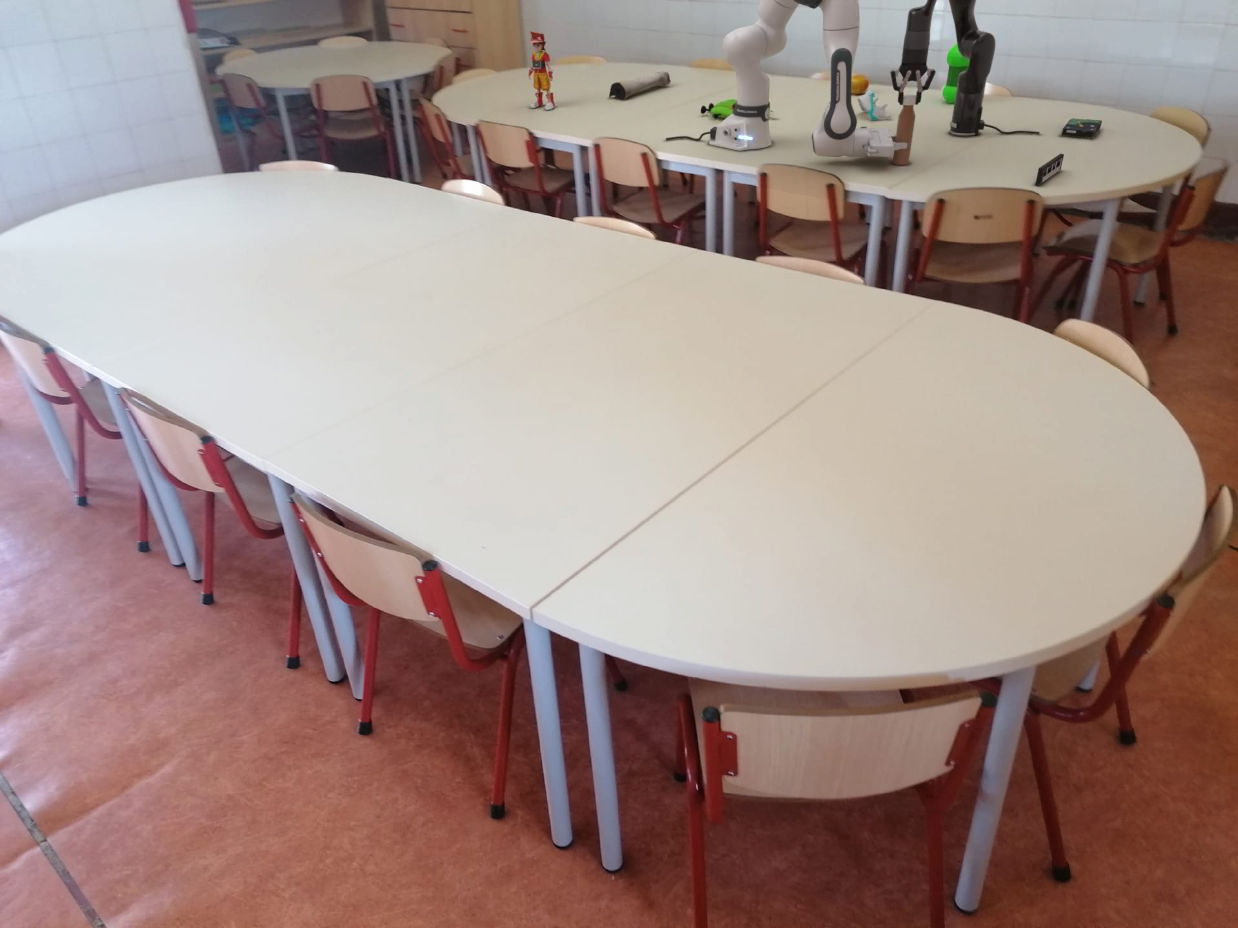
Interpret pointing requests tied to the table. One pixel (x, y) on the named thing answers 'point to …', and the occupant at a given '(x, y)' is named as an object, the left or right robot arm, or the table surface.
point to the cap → (909, 99)
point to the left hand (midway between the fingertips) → (906, 142)
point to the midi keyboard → (1049, 169)
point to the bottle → (904, 134)
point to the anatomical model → (872, 106)
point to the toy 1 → (541, 71)
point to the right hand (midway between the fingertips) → (908, 104)
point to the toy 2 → (721, 109)
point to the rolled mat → (638, 84)
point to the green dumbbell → (954, 73)
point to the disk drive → (1081, 128)
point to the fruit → (859, 84)
